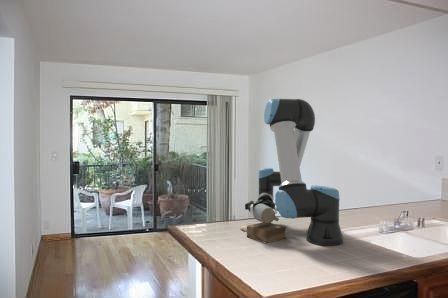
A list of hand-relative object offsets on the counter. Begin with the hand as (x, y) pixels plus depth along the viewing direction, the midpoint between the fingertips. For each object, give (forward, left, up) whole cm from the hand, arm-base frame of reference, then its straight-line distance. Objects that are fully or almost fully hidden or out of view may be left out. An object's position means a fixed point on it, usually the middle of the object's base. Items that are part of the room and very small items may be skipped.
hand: (263, 210), depth 155 cm
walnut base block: (+2, -4, -13) cm, 14 cm away
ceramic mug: (+3, -5, -6) cm, 8 cm away
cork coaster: (+17, -8, -13) cm, 23 cm away
